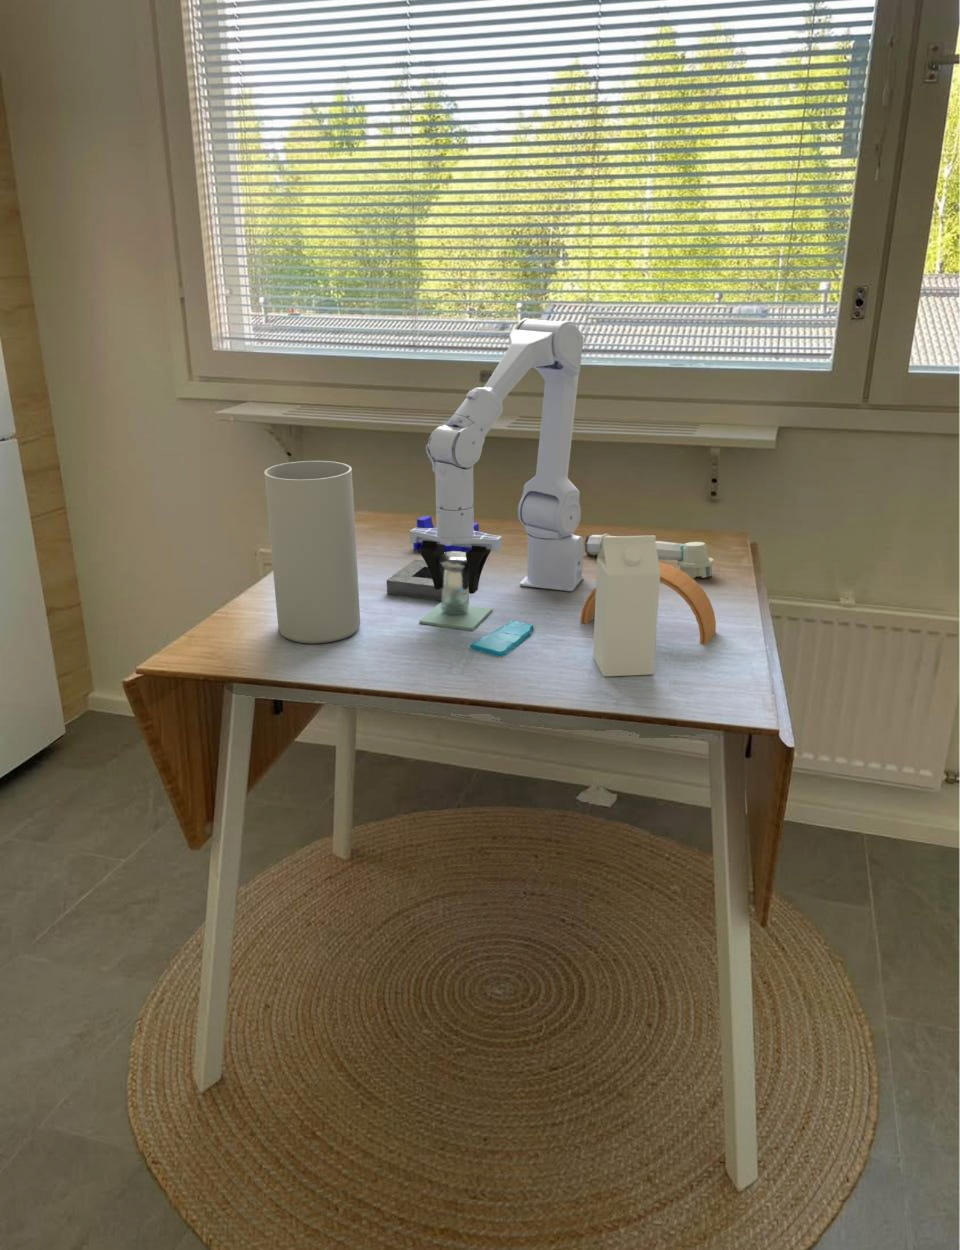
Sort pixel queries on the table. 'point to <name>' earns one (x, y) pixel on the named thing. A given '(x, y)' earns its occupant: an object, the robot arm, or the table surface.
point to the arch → (685, 589)
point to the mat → (456, 618)
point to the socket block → (414, 582)
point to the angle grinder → (669, 554)
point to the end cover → (454, 583)
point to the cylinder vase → (313, 550)
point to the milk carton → (626, 605)
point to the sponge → (503, 638)
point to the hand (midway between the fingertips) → (456, 589)
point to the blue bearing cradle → (427, 523)
